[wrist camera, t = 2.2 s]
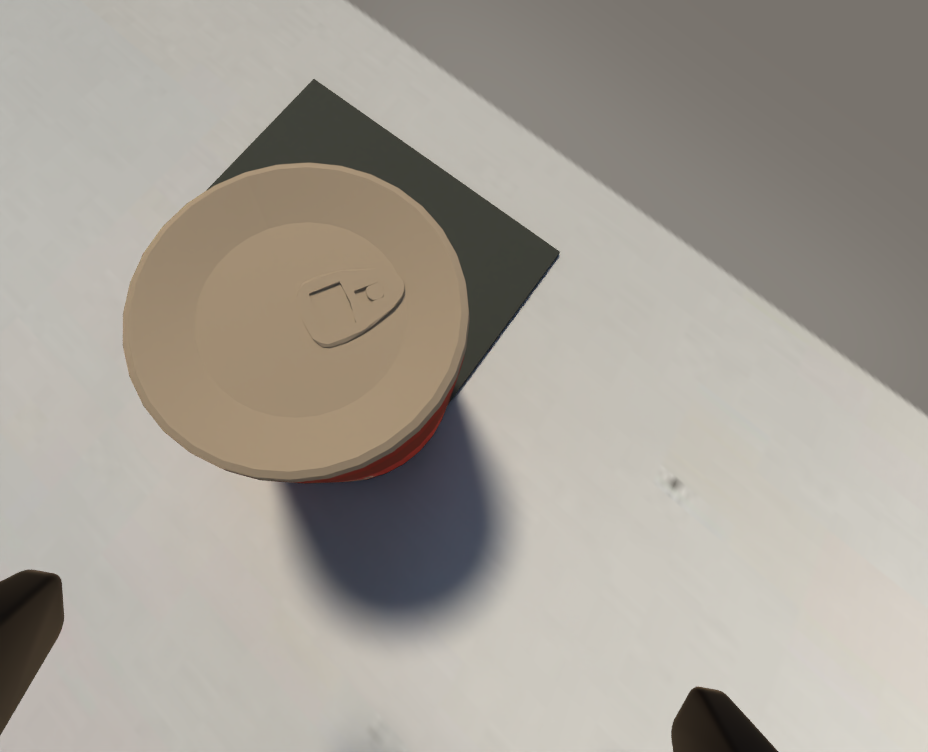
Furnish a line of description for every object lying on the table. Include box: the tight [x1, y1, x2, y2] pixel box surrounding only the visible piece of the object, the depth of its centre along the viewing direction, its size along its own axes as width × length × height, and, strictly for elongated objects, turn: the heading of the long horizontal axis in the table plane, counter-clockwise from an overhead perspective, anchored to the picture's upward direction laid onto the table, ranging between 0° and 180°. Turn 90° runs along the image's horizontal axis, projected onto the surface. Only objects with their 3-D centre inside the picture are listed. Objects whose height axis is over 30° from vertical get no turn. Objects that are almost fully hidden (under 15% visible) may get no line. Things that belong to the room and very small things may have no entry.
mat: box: [206, 79, 560, 404], centre depth 26 cm, size 10×14×1 cm
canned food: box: [123, 163, 470, 483], centre depth 19 cm, size 8×8×11 cm
